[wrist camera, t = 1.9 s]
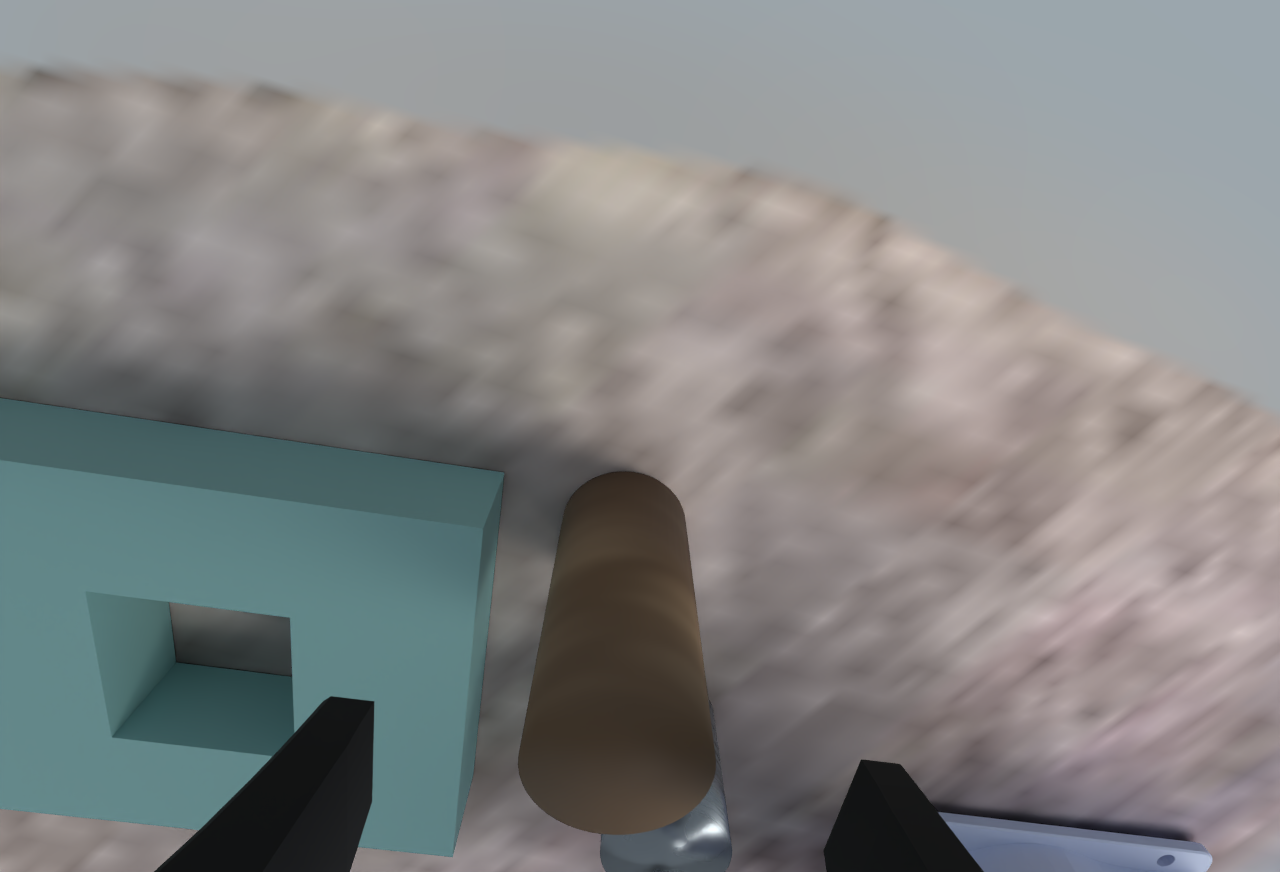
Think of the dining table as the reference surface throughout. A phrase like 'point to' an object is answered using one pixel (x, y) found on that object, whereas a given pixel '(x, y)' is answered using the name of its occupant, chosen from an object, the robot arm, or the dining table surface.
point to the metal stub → (678, 837)
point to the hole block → (241, 581)
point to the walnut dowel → (619, 667)
